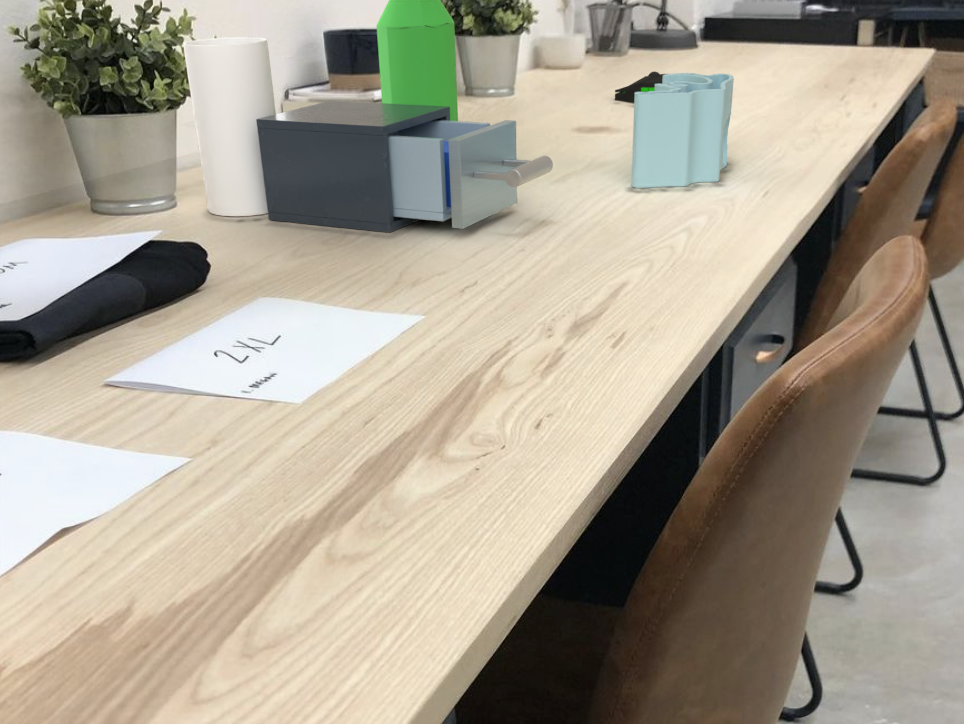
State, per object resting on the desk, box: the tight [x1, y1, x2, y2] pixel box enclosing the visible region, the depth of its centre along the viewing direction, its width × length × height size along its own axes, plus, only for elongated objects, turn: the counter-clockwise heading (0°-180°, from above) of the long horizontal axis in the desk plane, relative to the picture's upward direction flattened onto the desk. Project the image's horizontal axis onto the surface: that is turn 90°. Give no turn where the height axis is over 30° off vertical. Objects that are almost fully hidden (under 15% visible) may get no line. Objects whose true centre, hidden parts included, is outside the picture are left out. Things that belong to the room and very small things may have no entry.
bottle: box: [376, 0, 459, 121], centre depth 128 cm, size 9×9×25 cm
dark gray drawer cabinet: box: [256, 100, 450, 234], centre depth 112 cm, size 15×13×10 cm
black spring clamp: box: [614, 71, 666, 104], centre depth 174 cm, size 11×16×4 cm
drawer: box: [387, 119, 554, 230], centre depth 108 cm, size 18×11×8 cm, turn 62°
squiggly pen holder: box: [630, 72, 735, 189], centre depth 125 cm, size 18×10×9 cm, turn 167°
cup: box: [182, 36, 277, 217], centre depth 114 cm, size 8×8×16 cm
